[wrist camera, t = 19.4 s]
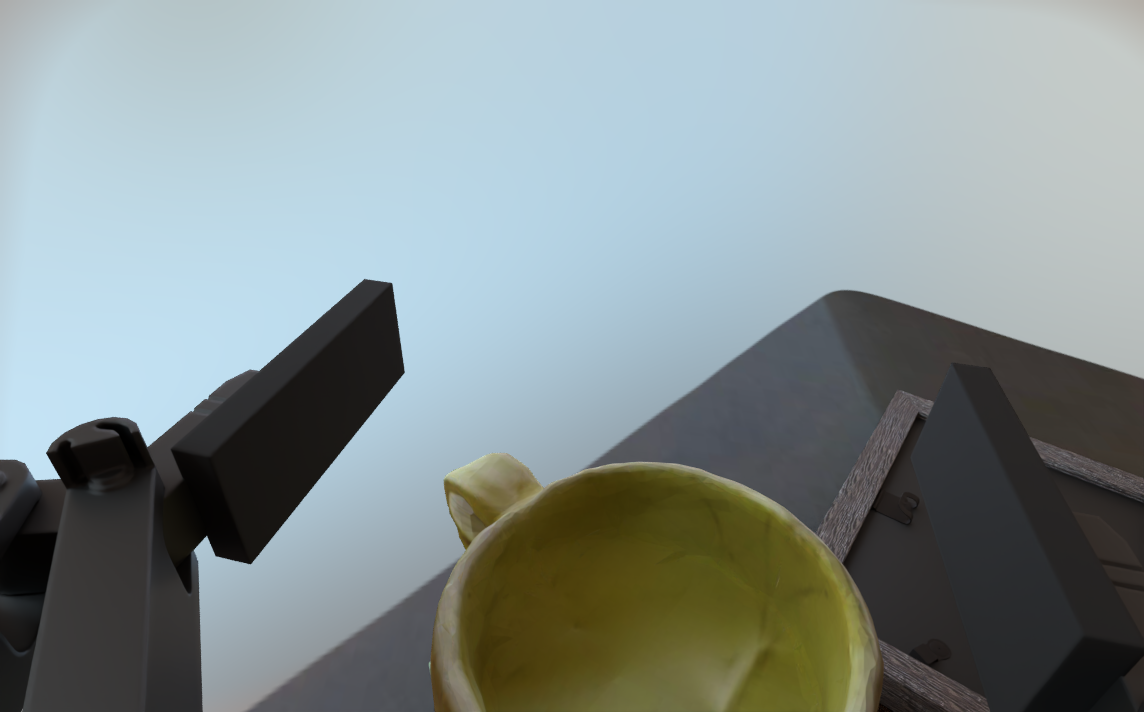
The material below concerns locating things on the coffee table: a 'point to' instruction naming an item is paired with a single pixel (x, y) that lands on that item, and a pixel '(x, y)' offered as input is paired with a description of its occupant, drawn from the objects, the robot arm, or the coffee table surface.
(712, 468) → the coffee table surface
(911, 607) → the picture frame
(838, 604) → the mug
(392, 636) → the coffee table surface
